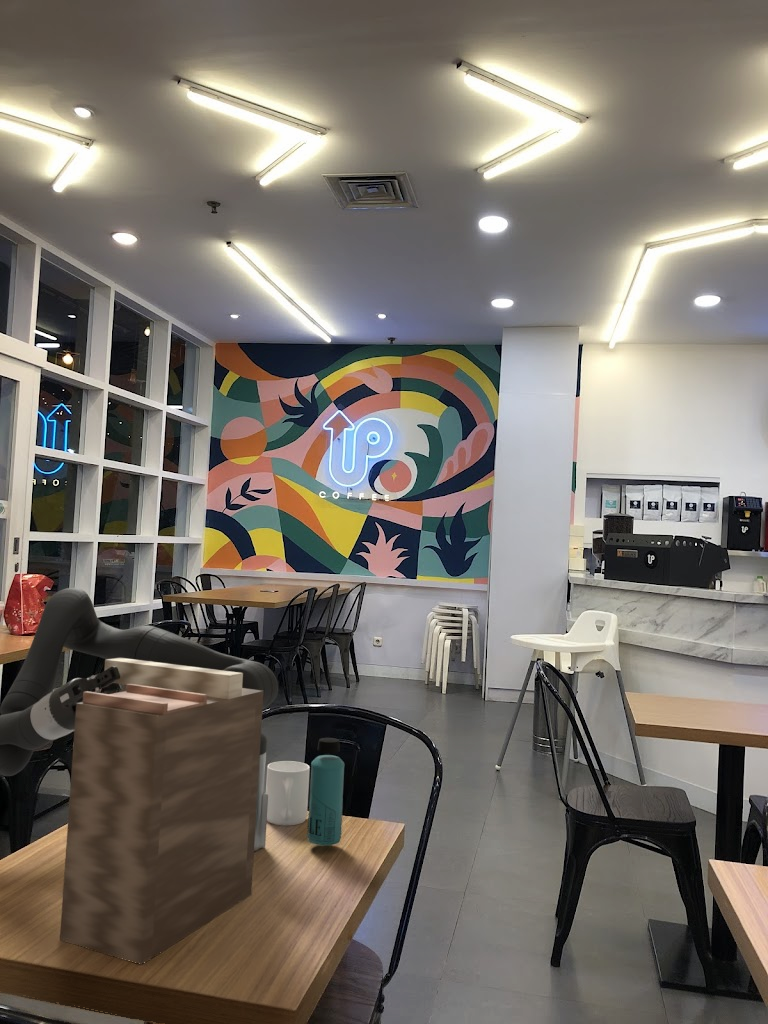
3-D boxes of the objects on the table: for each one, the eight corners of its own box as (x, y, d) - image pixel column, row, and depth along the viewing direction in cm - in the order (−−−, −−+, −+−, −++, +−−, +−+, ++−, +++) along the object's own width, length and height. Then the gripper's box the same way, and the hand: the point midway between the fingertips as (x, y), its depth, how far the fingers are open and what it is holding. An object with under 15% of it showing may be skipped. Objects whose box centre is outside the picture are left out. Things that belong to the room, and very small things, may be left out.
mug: (263, 832, 162) (266, 775, 162) (264, 812, 174) (267, 760, 174) (307, 832, 163) (310, 776, 163) (306, 813, 175) (309, 761, 175)
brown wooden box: (59, 939, 114) (77, 693, 116) (179, 876, 138) (192, 672, 139) (141, 965, 108) (158, 705, 110) (251, 894, 132) (263, 681, 134)
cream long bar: (103, 681, 134) (105, 659, 135) (118, 679, 138) (120, 657, 138) (228, 699, 125) (229, 675, 125) (241, 696, 128) (243, 672, 128)
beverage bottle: (346, 845, 157) (352, 737, 158) (332, 856, 150) (338, 744, 151) (314, 839, 159) (320, 733, 160) (299, 850, 153) (306, 740, 154)
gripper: (25, 694, 134) (96, 651, 129) (89, 683, 147) (156, 644, 142) (39, 738, 132) (112, 696, 127) (103, 723, 145) (172, 685, 140)
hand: (135, 668), depth 134 cm, fingers open, 8 cm apart
